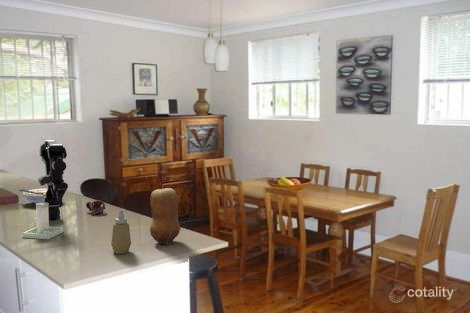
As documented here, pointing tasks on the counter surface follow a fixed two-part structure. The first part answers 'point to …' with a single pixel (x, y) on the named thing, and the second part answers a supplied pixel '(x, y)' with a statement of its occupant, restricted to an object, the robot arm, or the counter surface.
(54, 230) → the tray
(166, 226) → the butternut squash
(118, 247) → the squeeze bottle
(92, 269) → the counter surface
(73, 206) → the counter surface
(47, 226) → the cylinder
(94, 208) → the pottery mug
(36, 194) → the ramen bowl
